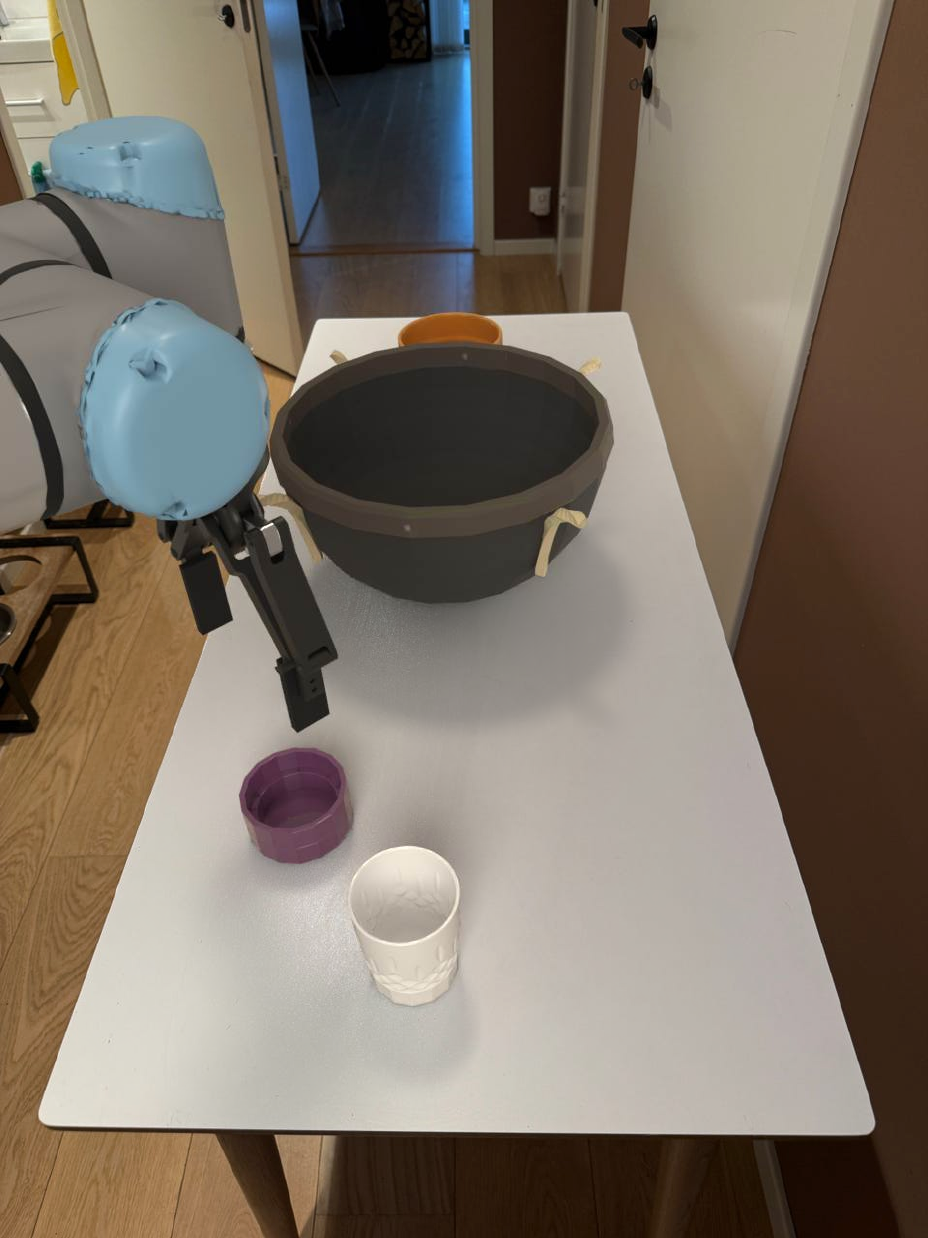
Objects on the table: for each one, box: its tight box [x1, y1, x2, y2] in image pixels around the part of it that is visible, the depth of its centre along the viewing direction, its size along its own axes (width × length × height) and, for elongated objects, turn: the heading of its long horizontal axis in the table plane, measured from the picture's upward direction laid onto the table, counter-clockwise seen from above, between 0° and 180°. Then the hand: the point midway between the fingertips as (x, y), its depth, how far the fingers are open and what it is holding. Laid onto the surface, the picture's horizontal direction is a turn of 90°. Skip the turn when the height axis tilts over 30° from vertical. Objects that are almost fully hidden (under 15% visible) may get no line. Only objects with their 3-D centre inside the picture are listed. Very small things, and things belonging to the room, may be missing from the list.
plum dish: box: [238, 747, 354, 865], centre depth 80 cm, size 9×9×5 cm
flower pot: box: [397, 311, 504, 347], centre depth 129 cm, size 14×14×13 cm
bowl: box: [256, 341, 615, 605], centre depth 101 cm, size 35×35×20 cm
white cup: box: [346, 845, 461, 1007], centre depth 68 cm, size 8×8×10 cm
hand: (260, 670), depth 69 cm, fingers open, 13 cm apart
